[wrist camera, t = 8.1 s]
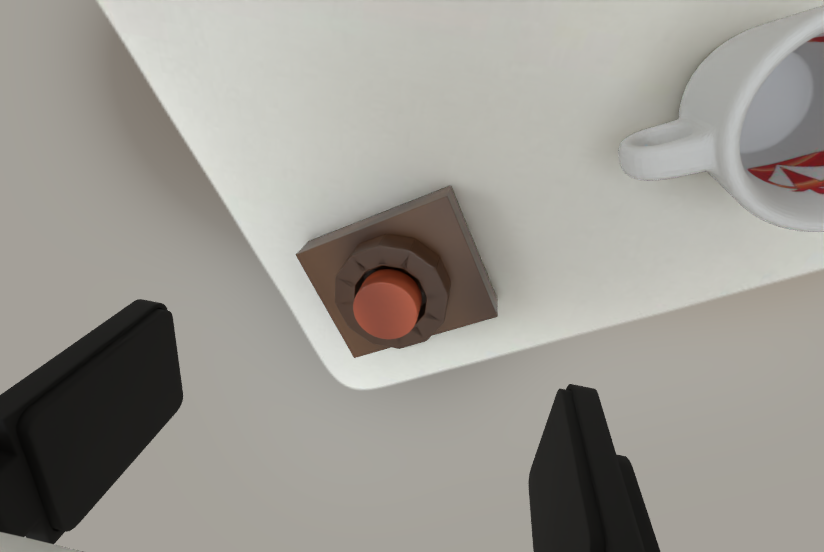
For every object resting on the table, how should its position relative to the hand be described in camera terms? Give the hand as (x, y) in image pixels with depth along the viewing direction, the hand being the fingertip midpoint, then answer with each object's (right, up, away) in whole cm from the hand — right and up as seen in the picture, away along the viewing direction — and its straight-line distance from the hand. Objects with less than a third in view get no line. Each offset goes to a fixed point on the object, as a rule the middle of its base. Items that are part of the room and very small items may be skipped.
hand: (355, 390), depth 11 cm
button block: (+1, +3, +19) cm, 19 cm away
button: (0, +2, +16) cm, 16 cm away
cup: (+16, +11, +12) cm, 23 cm away
